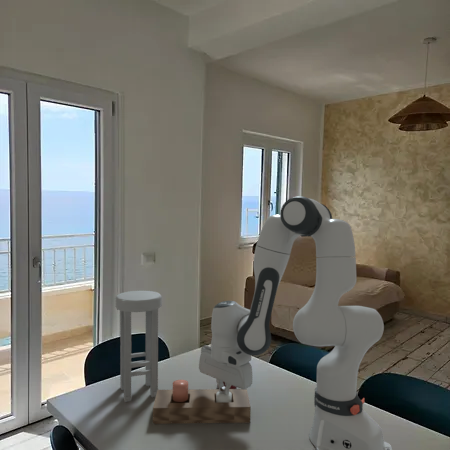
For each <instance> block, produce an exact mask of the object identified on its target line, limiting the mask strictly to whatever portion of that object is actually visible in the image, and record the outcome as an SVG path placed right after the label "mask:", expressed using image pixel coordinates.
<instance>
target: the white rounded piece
mask: <svg viewBox="0 0 450 450" xmlns="http://www.w3.org/2000/svg"><path fill="white" fill-rule="evenodd" d="M217 402H232V393H231V392H229V394H228V395H225V394H222V393H220V392H219V391H218V392H217V393H216V403H217Z"/></svg>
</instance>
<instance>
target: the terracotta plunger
mask: <svg viewBox="0 0 450 450" xmlns="http://www.w3.org/2000/svg"><path fill="white" fill-rule="evenodd" d="M172 390H173V400H174V401H176V402H184V401H186V400H188V390H189V381H187V380H186V379H177V380H173V382H172Z"/></svg>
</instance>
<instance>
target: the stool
mask: <svg viewBox="0 0 450 450" xmlns="http://www.w3.org/2000/svg"><path fill="white" fill-rule="evenodd" d="M162 304H163V296H162V294H160V292H157V291H152V290H130V291H125V292H120V293H119V294H117V295H116V296H115V309H116V310H118V311H119V313H120V315H119V317H120V318H119V319H120V320H119V323H120V324H119V327H120V328H119V329H120V331H119V333H120V335H119V337H120V338H119V339H120V340H119V341H120V346H119V347H120V352H119V353H120V355H119V356H120V358H119V359H120V363H119V365H120V370H119V371H120V372H119V374H120V377H119V378H120V379H119V380H120V384H119V386H120V390H121V391H123V399H124V400H123V401H124V403H126V402H131V401H132V377H137V376H139V377H140V376H145V386H146V387H150V390H149V392H150V397H151V398H156V394H157V390H159V309H160V308H161V307H162ZM143 312H144V313H145V351H143V352H134V353H132V313H143ZM141 357H145V360H143V359H142V360H137V361H132V358H133V359H134V358H141ZM139 367H145V370H137V371H136V370H135V371H132V369H133V368H139Z"/></svg>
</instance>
